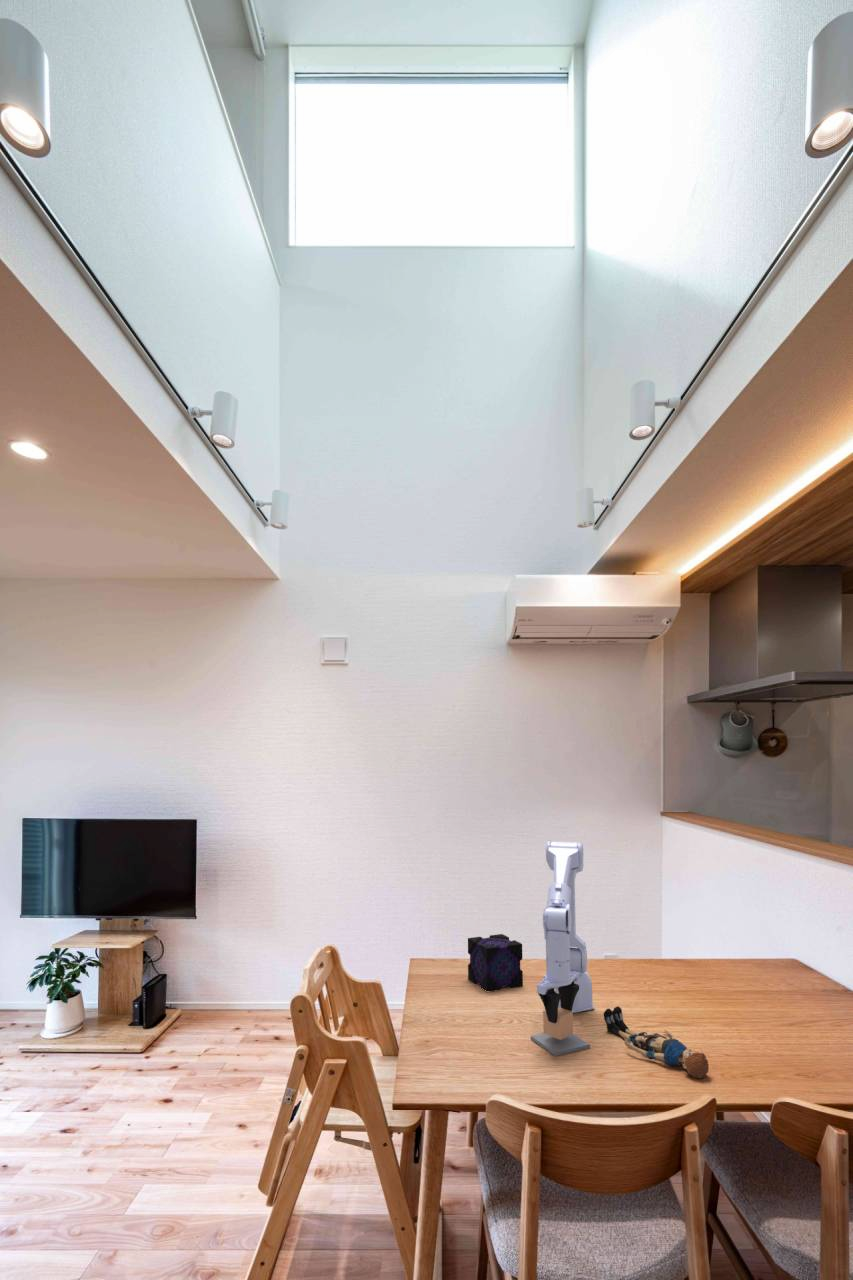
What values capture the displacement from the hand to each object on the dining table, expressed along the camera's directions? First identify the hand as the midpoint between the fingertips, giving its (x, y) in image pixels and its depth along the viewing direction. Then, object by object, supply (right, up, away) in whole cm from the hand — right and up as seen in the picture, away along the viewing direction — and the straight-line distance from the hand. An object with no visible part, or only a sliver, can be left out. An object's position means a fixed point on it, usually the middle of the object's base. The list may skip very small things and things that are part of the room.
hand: (559, 1018), depth 170 cm
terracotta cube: (0, -3, 0) cm, 3 cm away
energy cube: (-11, -12, +42) cm, 45 cm away
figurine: (+21, -5, -6) cm, 23 cm away
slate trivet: (0, -6, -1) cm, 6 cm away
